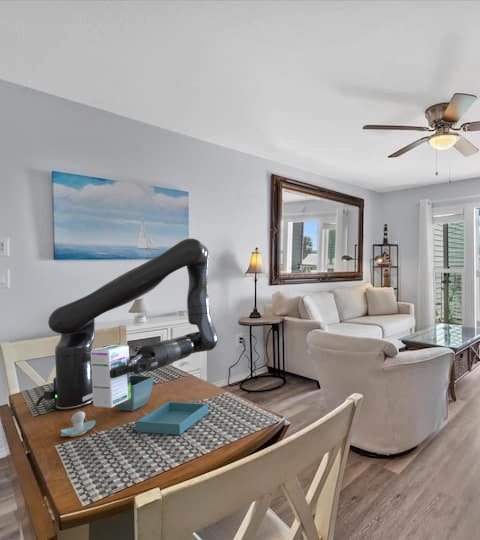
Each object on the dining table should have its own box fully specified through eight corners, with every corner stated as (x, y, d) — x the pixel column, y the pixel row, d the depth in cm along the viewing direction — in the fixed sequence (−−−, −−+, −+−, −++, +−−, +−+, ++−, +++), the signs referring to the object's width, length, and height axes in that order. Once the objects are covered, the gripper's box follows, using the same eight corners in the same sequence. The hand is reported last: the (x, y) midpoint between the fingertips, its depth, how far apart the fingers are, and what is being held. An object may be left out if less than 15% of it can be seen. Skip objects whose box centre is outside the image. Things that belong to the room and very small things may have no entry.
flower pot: (155, 402, 111) (154, 376, 111) (133, 414, 102) (132, 385, 102) (131, 401, 112) (131, 374, 112) (108, 412, 104) (107, 384, 103)
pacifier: (56, 436, 90) (64, 442, 87) (55, 413, 90) (63, 418, 87) (89, 425, 96) (98, 430, 93) (88, 403, 96) (97, 407, 93)
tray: (135, 431, 92) (135, 421, 92) (169, 410, 105) (169, 401, 105) (179, 434, 90) (179, 424, 90) (208, 412, 103) (208, 403, 103)
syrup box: (111, 408, 83) (109, 350, 82) (92, 406, 84) (90, 349, 83) (131, 398, 88) (129, 344, 88) (113, 397, 90) (111, 343, 89)
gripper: (141, 340, 102) (80, 355, 86) (178, 343, 97) (121, 360, 81) (142, 364, 102) (81, 384, 86) (179, 369, 97) (122, 390, 81)
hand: (101, 372), depth 84 cm, fingers closed on syrup box, 6 cm apart
